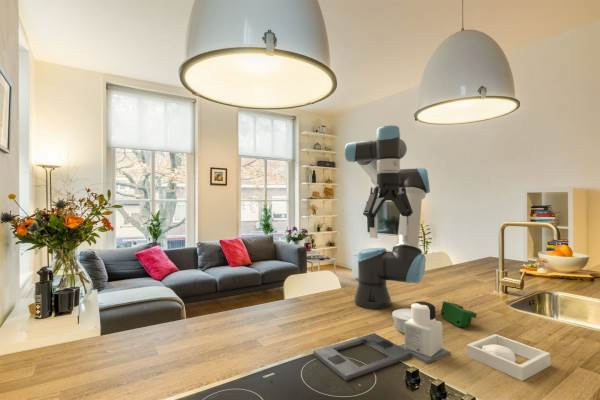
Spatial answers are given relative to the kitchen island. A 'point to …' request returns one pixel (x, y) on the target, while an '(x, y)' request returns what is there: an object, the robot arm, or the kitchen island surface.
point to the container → (423, 330)
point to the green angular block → (457, 314)
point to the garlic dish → (521, 372)
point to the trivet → (427, 359)
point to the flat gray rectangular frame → (350, 369)
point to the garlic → (500, 351)
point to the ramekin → (401, 318)
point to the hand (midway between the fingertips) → (389, 236)
